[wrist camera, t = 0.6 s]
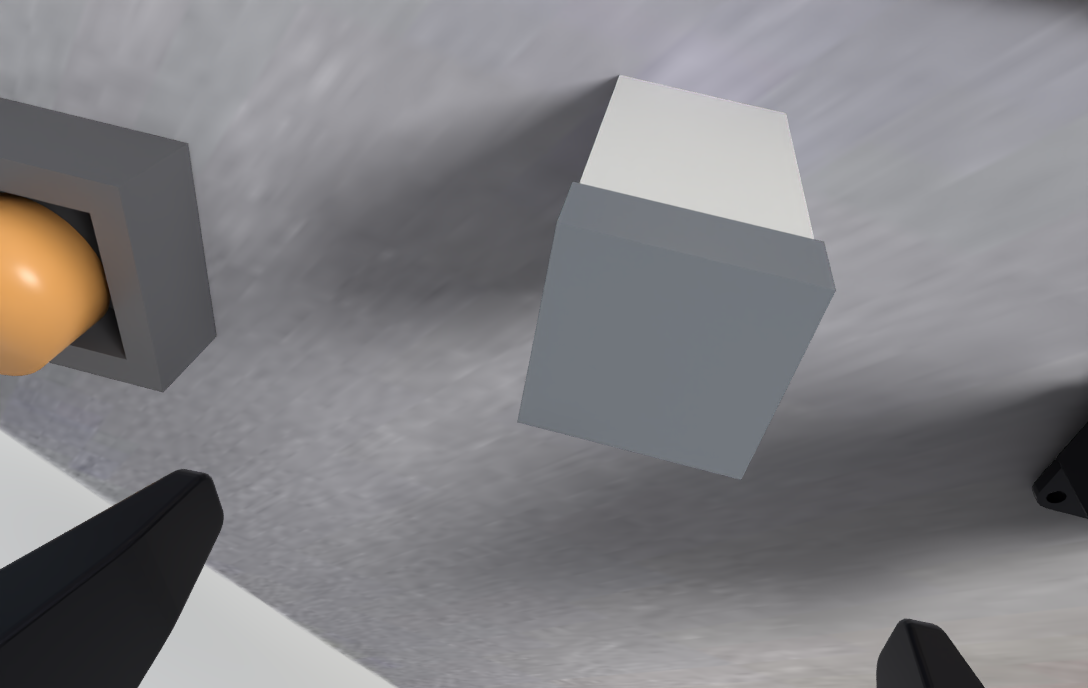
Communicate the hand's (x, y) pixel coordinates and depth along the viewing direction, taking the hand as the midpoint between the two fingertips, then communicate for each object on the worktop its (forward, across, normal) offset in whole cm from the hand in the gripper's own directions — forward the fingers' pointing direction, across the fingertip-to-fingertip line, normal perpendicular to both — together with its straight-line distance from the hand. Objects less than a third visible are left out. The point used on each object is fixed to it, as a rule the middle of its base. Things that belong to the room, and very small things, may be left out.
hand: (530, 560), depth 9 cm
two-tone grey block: (+12, -1, -1) cm, 12 cm away
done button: (+9, +17, +3) cm, 19 cm away
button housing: (+11, +17, +3) cm, 20 cm away
